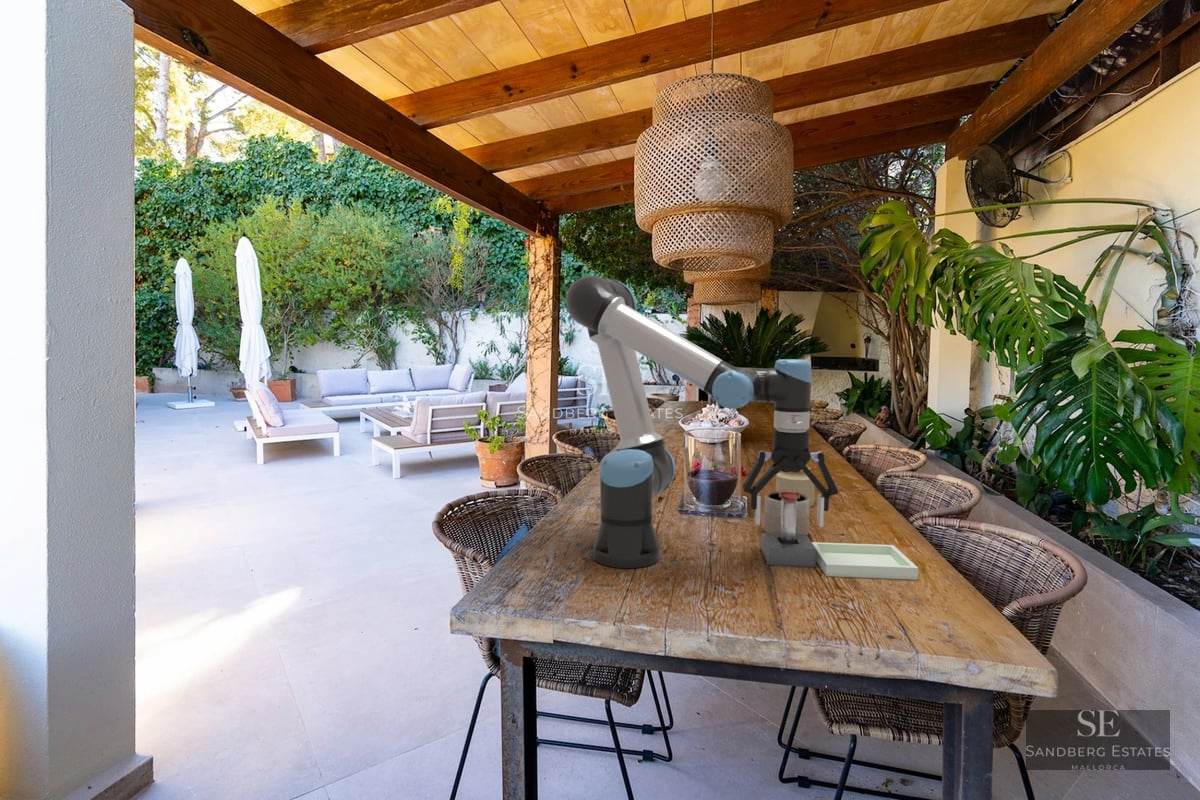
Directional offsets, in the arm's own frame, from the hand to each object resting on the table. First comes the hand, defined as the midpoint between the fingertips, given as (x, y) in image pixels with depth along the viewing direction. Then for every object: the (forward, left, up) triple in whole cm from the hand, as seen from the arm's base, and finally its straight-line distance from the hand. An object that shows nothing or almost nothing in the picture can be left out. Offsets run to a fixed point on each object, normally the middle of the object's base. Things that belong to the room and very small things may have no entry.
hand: (788, 524), depth 137 cm
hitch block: (0, 0, -8) cm, 8 cm away
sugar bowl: (+10, +50, -8) cm, 51 cm away
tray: (+15, -3, -8) cm, 17 cm away
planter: (+3, +18, -8) cm, 20 cm away
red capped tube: (0, 0, -8) cm, 8 cm away
